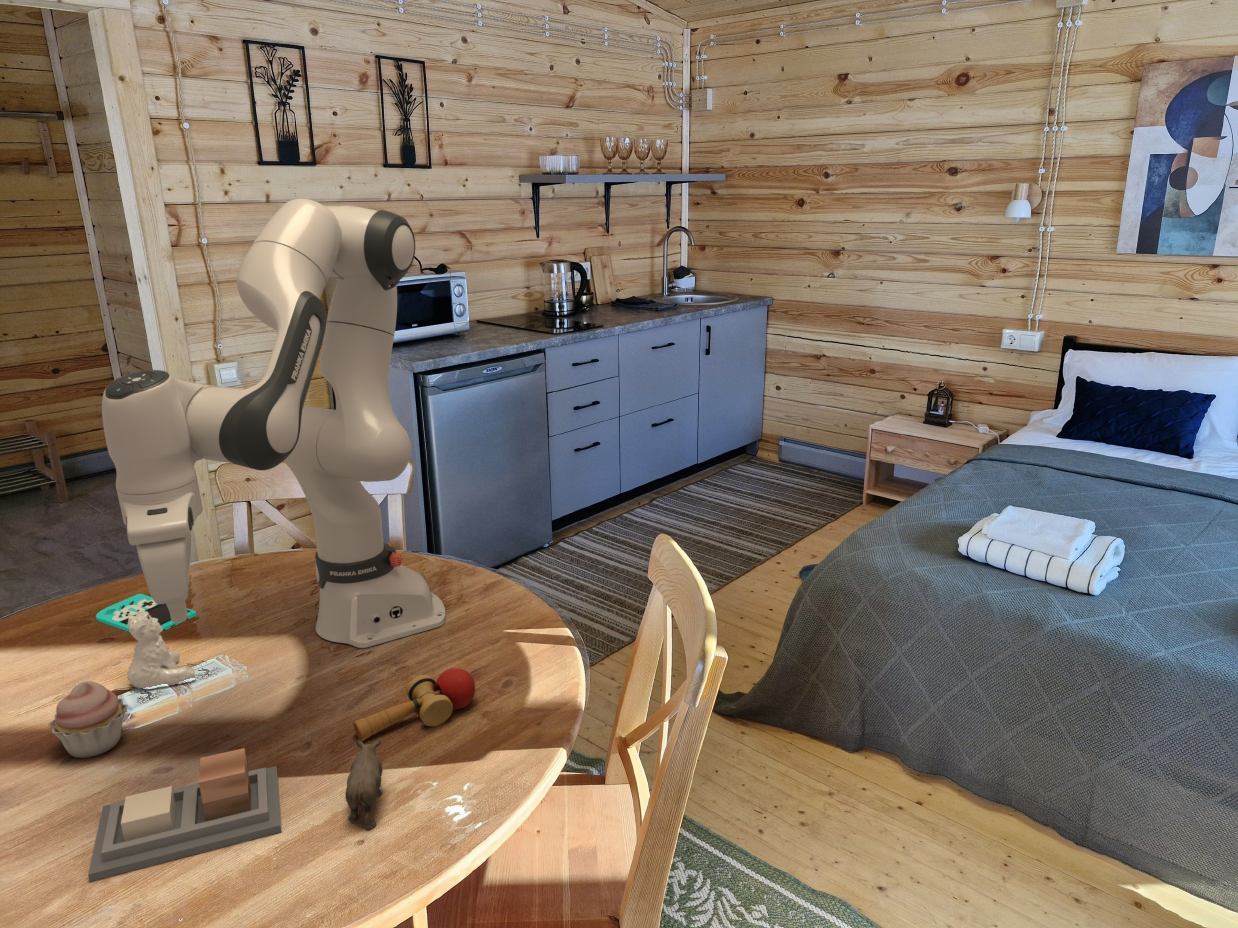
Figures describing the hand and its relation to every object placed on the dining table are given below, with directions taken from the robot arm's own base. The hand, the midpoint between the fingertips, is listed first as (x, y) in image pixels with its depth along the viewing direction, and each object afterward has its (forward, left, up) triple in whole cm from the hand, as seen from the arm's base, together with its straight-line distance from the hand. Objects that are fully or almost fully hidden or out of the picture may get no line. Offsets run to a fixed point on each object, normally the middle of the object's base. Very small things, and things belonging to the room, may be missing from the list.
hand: (181, 602), depth 110 cm
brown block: (-3, +14, -22) cm, 26 cm away
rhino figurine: (-19, +17, -23) cm, 35 cm away
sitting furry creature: (+7, -23, -23) cm, 33 cm away
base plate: (+1, +14, -23) cm, 27 cm away
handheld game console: (+11, -47, -24) cm, 54 cm away
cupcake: (+14, -8, -23) cm, 28 cm away
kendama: (-28, +4, -23) cm, 37 cm away
